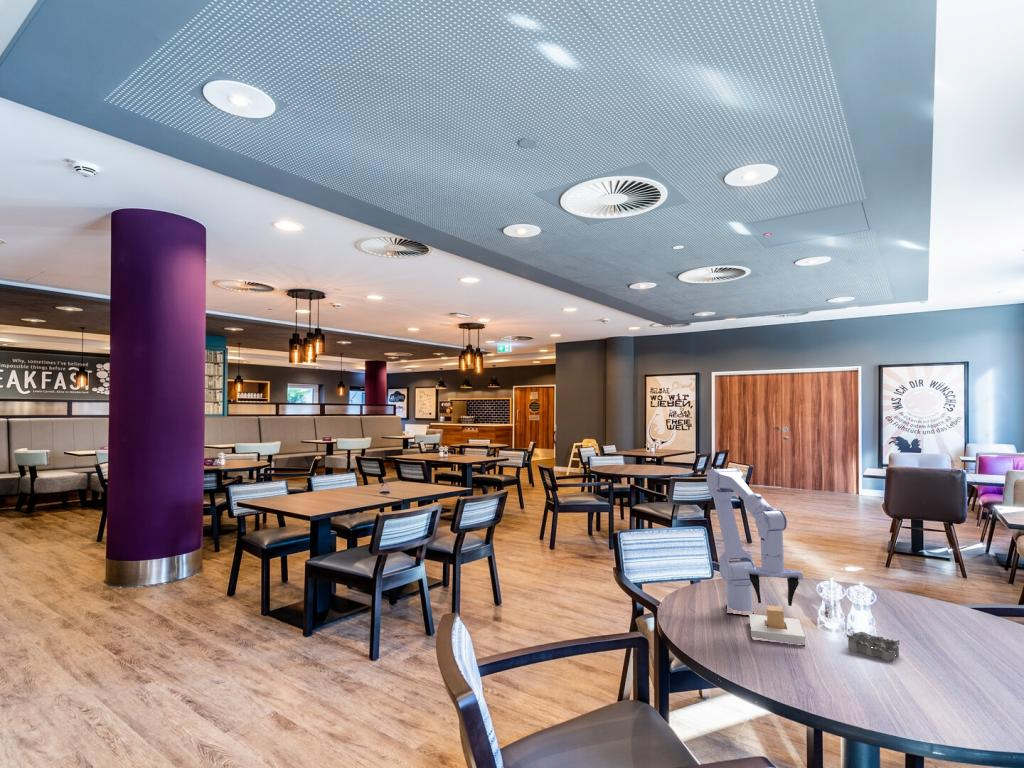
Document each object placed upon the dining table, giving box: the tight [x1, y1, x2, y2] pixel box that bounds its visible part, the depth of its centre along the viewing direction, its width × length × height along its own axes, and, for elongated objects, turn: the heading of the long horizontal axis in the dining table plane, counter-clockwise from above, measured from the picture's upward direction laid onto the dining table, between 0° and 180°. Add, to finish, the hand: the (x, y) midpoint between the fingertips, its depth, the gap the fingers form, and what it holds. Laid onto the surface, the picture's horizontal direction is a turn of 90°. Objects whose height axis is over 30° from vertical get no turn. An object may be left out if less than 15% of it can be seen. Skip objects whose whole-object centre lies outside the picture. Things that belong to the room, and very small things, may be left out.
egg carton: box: [846, 631, 900, 661], centre depth 141 cm, size 11×8×4 cm
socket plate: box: [748, 613, 806, 646], centre depth 153 cm, size 13×13×2 cm
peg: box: [766, 604, 785, 629], centre depth 153 cm, size 4×4×7 cm
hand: (774, 603), depth 154 cm, fingers open, 7 cm apart
